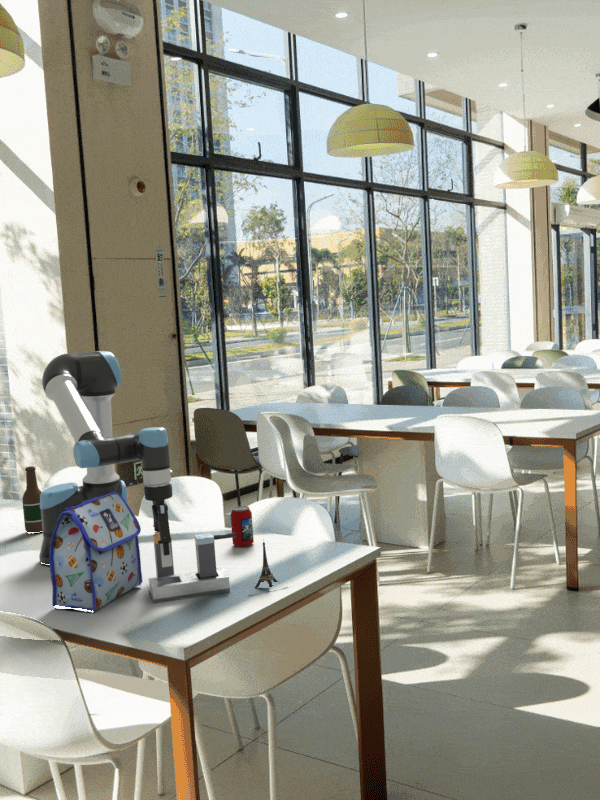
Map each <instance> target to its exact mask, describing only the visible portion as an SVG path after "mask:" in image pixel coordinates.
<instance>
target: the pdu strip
mask: <svg viewBox="0 0 600 800" xmlns="http://www.w3.org/2000/svg"><path fill="white" fill-rule="evenodd" d="M233 537H236V533H232V532H229V533H228V532H227V533H223V534H222V533H221V534H215V535H213V534H212V532H210V533H202V534H194V542H195V543H194V544H195V545H194V546H195V555H196V566H197V567H196V568H197V569H196V570H197V571H192V572H186V573H178V574H174V575H170V576H163V577H157V576H156V577H151V578H150V577H149V578H148V584H149V594H150V597H151V600H152V604H159V603H164V602H172V601H177V600H185V599H191V598H199V597H204V596H211V595H217V594H223V593H230V592H231V584H230V576H229V575H228V573H227V572H226V570H225V569H224V567H218V568H217V559H216V549H215V548H216V547H215V540H217V541H218V540H223V539H232V538H233Z"/></svg>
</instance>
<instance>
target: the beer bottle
mask: <svg viewBox="0 0 600 800" xmlns="http://www.w3.org/2000/svg"><path fill="white" fill-rule="evenodd" d="M36 470H37V468H36V467H35V466H26V467H25V470H24V471H25V478H26V479H25V480H26V481H25V484H26V489H25V491H24V493H23V496H22V510H23V511H22V512H23V513H22V514H23V520H24V529H25V530H26V531H27V532H40V531H43V528H42V518H41V509H40V495H41V493H42V492H43V491H42V490H41V489H39V485H38V480H37V473H36ZM26 531H25V532H26Z"/></svg>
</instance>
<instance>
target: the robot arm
mask: <svg viewBox="0 0 600 800" xmlns="http://www.w3.org/2000/svg"><path fill="white" fill-rule="evenodd" d="M41 379H42V380H41V381H42V384H41V385H42V389H43V391H44V393H45V395H46V397H47V398H48V399H49V400H50V401H53V402H54V404H55V406H56V409H57V410H58V412H59V414H60V415H61V417H62V420H63V421H64V423H65V425H66V426H67V428H68V430H69V432H70V434H71V436H72V437H73V440H74V441H75V443H74V445H73V452H72V453H73V458H74V462H75V464H76V466H77V467H78V468H80V469H86V474H85V476H84V477H82V485H78V484H77V483H76V482H67V483H60V484H56V485H52V486H50V487H48V488H46V489H43V491H41V492H42V493H41V495H40V509H41V518H42V528H43V533H42V537H43V538H42V541H41V542H42V543H41V546H40V551H39V555H38V556H39V563H40V562H42V563H45V564H50V545H51V539H52V535H53V532H54V530H55V528H56V525H57V521H58V518H59V516H60V514H61V513H62V512H64V511H66V510H65V508H70V507H74V506H77V505H79V504H81V503H82V502H84V501H85V500H89V499H92V498H95V497H99V496H104V495H107V494H110V493H112V492H118V493H119V494H120V495H121V496H122V497H123V499H124V500H125V502H126V503H127V504H128V490H127V485H126V483H125V481H124V480H122V479H120V475H119V474H117V472H116V471H115V464H122V463H130V462H137V461H141V466H142V467H141V468H142V469H141V472H142V482H143V483H142V484H143V485H144V488H143V490H144V491H143V492H144V499H145V500H147V501H150V502H152V505H151V510H152V517H153V525H152V526H153V529H154V530H153V531H154V534H160V541H158V544H160V548H161V560H162V568H163V567H169V566H174V564H173V565H172V554H173V553H172V554H171V539H172V535H171V531H170V521H169V507H168V505H167V503H165V500H169V499H171V498H173V484H172V483H171V482H172V476H171V475H172V474H174V471H173V470H171V463H170V461H171V460H170V450H169V438H168V431H167V429H166V428H165V427H163V426H161V427H159V426H156V427H146V428H142V429H140V430H139V431H137V432H130V433H128V434H125V435H124V434H123V435H117V436H113V420H112V419H113V417H112V416H113V415H112V414H113V413H112V398H113V397H114V396H115V395H116V388H118V387H120V386H121V383H122V371H121V366H120V363H119V361H118V359H117V357H116V355H114V353H112V352H111V351H108V350H107V351H106V350H96V351H85V352H84V351H83V352H73V353H62V354H60V355H57V356H55V357H54V358H52V359H51V361H49V363H47V365H46V367H45V368H44V371H43V374H42V378H41ZM170 535H171V536H170ZM165 537H167V538H165Z"/></svg>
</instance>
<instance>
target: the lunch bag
mask: <svg viewBox="0 0 600 800" xmlns="http://www.w3.org/2000/svg"><path fill="white" fill-rule="evenodd" d="M65 510H66V511H64V512H62V513H61V514H60V516H59V518H58V521H57V525H56V528H55V530H54V532H53V535H52V539H51V545H50V566H49V571H50V580H51V586H52V588H51V589H52V598H51V599H52V602H51V604H52V607H53V606H55V605H59V606H65V607H71V608H82V609H87V610H91V611H92V610H93V611H95V612H96V611H97V610H96V609H98V610H99V608H100V609H101V608H102V606H103V607H104V606H106V605H107V604H109V603H111V602H113V600H115V599H117V598H119V597H121V596H122V595H124V594H125V593H127V592H129V591H130V590H133V589H134V588H136V587H139V586H141V584H142V583H143V573H142V562H141V553H140V552H141V551H140V543H139V535H140V534H141V531H142V530H141V529H142V527H141V525H140V523H139V520H138V519H137V517H136V515H135V514H134V512H133V510H132V509H131V507H130V506H129V504H128V502H127V503H126V502H125V500H124V499H123V497H122V496H121V495H120V494H119V493H118V492H112V493H110V494H107V495H104V496H99V497H95V498H92V499H89V500H85V501H84V502H82V503H81V504H79V505H77V506H74V507H70V508H65ZM110 601H111V602H110Z"/></svg>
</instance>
